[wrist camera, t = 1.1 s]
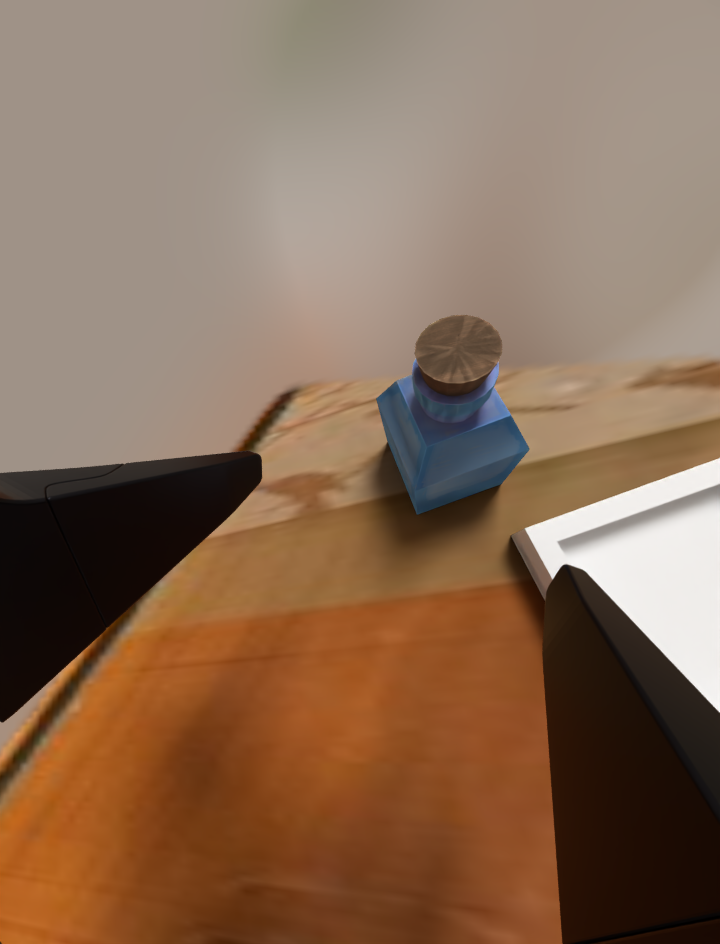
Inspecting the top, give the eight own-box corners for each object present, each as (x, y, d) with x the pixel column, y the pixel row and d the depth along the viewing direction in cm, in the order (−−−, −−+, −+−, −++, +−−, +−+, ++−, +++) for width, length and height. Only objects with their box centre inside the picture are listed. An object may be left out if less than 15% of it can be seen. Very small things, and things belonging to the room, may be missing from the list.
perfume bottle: (417, 514, 22) (409, 446, 10) (387, 441, 24) (356, 322, 13) (501, 484, 21) (585, 379, 10) (462, 412, 23) (497, 263, 12)
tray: (917, 704, 14) (1038, 734, 11) (641, 784, 15) (690, 831, 12) (710, 463, 19) (759, 443, 16) (510, 535, 20) (524, 528, 17)
